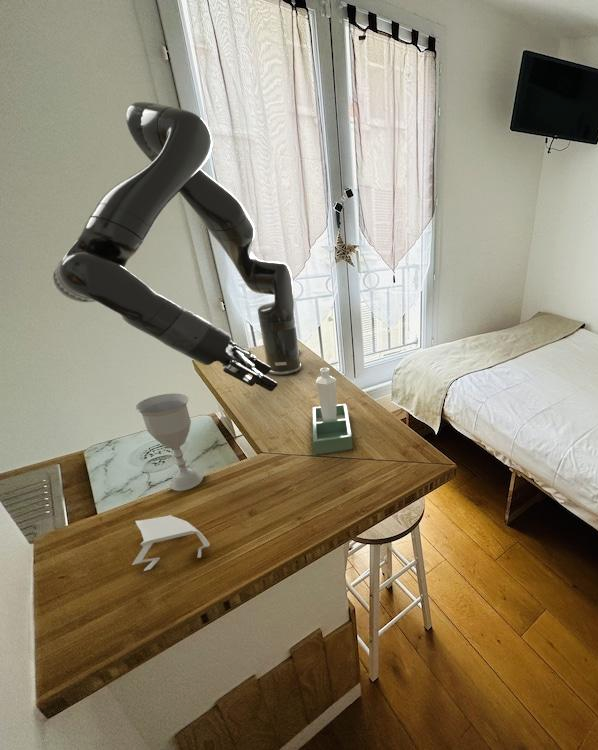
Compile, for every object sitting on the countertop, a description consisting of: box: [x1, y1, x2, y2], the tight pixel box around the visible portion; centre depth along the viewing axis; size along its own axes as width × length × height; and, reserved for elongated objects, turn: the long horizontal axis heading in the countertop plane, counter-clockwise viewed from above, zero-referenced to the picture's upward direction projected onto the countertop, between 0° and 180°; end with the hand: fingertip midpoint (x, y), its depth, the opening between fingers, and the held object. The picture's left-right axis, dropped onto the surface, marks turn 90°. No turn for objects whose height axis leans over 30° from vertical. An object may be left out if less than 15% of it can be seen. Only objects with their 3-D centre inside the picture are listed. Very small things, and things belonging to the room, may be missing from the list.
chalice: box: [135, 393, 204, 492], centre depth 74 cm, size 7×7×18 cm
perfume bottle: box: [315, 367, 337, 421], centre depth 96 cm, size 5×4×15 cm
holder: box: [311, 403, 354, 456], centre depth 96 cm, size 15×8×4 cm, turn 23°
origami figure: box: [131, 514, 211, 572], centre depth 63 cm, size 12×8×5 cm
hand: (271, 379), depth 86 cm, fingers open, 8 cm apart
